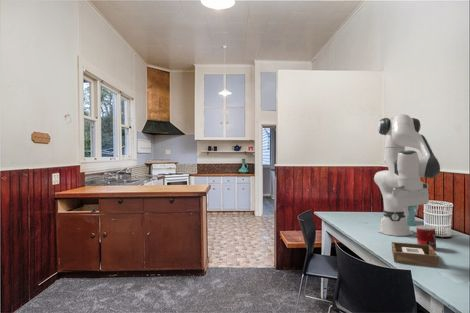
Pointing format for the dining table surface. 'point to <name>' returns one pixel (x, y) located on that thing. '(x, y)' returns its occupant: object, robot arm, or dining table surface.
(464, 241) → the dining table surface
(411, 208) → the peg
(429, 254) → the box
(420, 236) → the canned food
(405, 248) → the plate
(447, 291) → the dining table surface
